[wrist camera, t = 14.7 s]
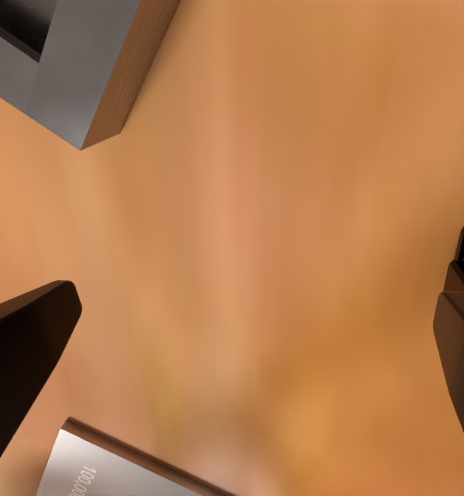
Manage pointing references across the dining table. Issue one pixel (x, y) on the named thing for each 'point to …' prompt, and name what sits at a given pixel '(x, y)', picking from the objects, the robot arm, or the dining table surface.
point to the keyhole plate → (79, 61)
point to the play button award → (108, 470)
